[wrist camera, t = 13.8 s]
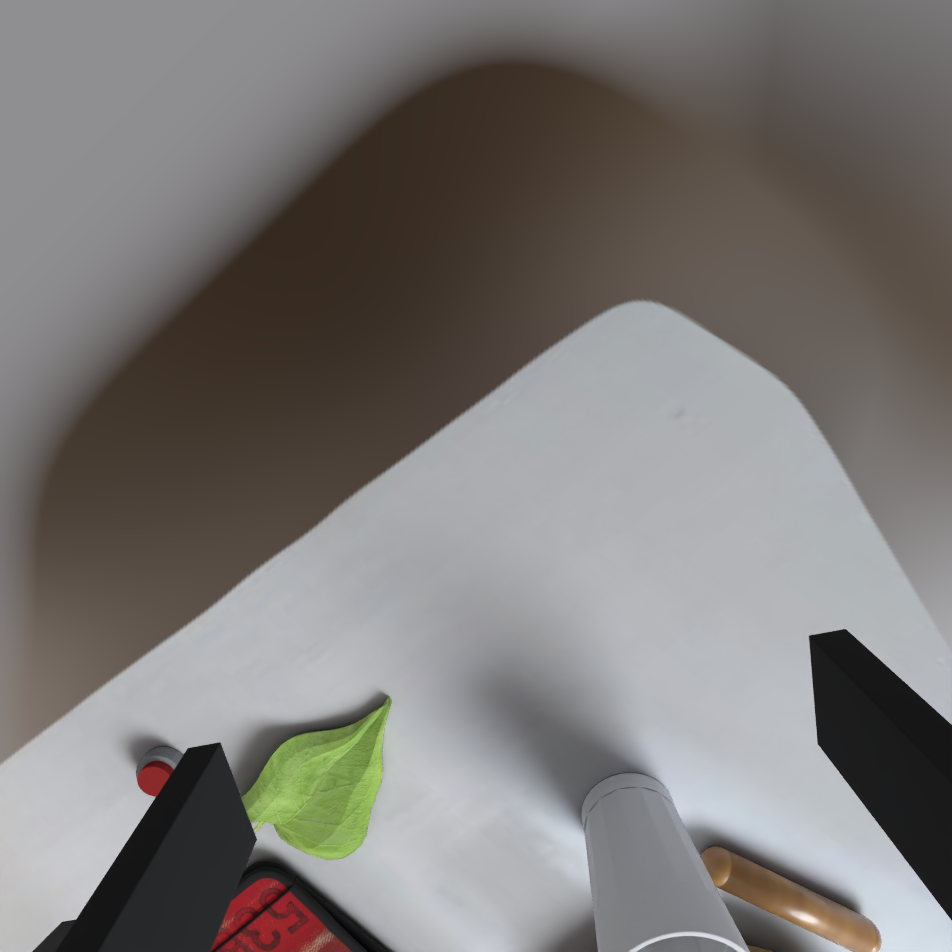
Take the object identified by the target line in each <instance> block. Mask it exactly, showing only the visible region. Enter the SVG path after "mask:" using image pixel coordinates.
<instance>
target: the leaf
mask: <svg viewBox="0 0 952 952" xmlns="http://www.w3.org/2000/svg"><path fill="white" fill-rule="evenodd" d="M390 706H391V699H390V697H389V696H388V698H387V699H386V701H385V702H384V704H383V706H382V707H380V708H378V709H377V710H375V711H373V712H372V713H370V714H369V715H367V716H366V717H364V718H363V719H361V720H359V721H358V722H356V723H354V724H351V725H348V726H346V727H342V728H338V729H332V730H325V731H316V732H308V733H304V734H300V735H296V736H294V737H292V738H290V739H289V740H287V741H285V742H284V743H282V744H281V745H280V747H279V748H278V749H277V750H276V751H275V752H274V753H273V754H272V756H271V757H270V759H269V760H268V762H267V764H266V765H265V767H264V769H263V770H262V772H261V774H260V776H259V778H258V779H257V781H256V782H255V784H254V785H253V787H252V788H251V789H250V790H249V791H248V792H247V793H246V794H245V795H244V796H242V797H241V799H242V801H243V804H244V807H245V809H246V812H247V815H248V817H249V820H250V821H256V822H259V824H258V825H257V827H256V828H255V829H254V830H253V831H254V833H256V832H257V830H258V829H259V828H260V827H261V826H262V824H263V823H264V822H265V823H271V824H274V827H275V829H276V832H277V833H278V835H279V837H280V838H281V839H282V840H284V841H285V842H287V843H288V844H289V845H291V846H293V847H295V848H297V849H299V850H301V851H303V852H305V853H307V854H309V855H312V856H315V857H318V858H322V859H325V860H333V859H342V858H344V857H346V856H348V855H350V854H351V853H353V852H354V851H355V850H356V849H357V848H358V847H360V846H361V845H362V843H363V841H364V839H365V837H366V834H367V829H368V823H369V818H370V813H371V808H372V805H373V802H374V800H375V797H376V795H377V792H378V789H379V787H380V784H381V781H382V772H383V769H382V743H383V735H384V729H385V724H386V719H387V715H388V712H389V709H390Z"/></svg>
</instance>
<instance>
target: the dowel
mask: <svg viewBox="0 0 952 952" xmlns="http://www.w3.org/2000/svg"><path fill="white" fill-rule="evenodd" d="M701 859H702V861H703V863H704V865H705V867H706V869H707V871H708V873H709V875H710V877H711V879H712V881H713V883H714V885H715V886H716V887H718V888H720V889H722V890H724V891H726V892H728V893H730V894H732V895H735V896H737V897H739V898H741V899H743V900H745V901H747V902H749V903H751V904H754V905H756V906H758V907H760V908H762V909H764V910H766V911H768V912H770V913H772V914H775V915H777V916H779V917H781V918H783V919H785V920H787V921H789V922H791V923H794V924H796V925H798V926H800V927H802V928H804V929H806V930H808V931H810V932H813V933H815V934H817V935H819V936H821V937H823V938H825V939H827V940H829V941H831V942H834V943H836V944H838V945H840V946H842V947H844V948H846V949H848V950H850V951H853V952H878V951H879V950H880V947H881V936H880V933H879V931H878V929H877V927H876V926H875V924H874V923H873V922H872V921H871V920H869V919H868V918H866V917H865V916H863V915H860V914H858V913H856V912H854V911H852V910H850V909H848V908H846V907H844V906H842V905H840V904H838V903H836V902H834V901H832V900H829V899H827V898H825V897H823V896H821V895H819V894H817V893H815V892H813V891H811V890H809V889H807V888H805V887H803V886H801V885H799V884H796V883H794V882H792V881H790V880H788V879H786V878H784V877H782V876H780V875H778V874H776V873H774V872H772V871H770V870H768V869H765V868H763V867H761V866H759V865H757V864H755V863H753V862H751V861H749V860H747V859H745V858H743V857H741V856H739V855H737V854H734V853H732V852H730V851H728V850H726V849H724V848H722V847H717V846H713V847H710V848H708V849H706V850H705V851H704V852H703V854H702V856H701Z"/></svg>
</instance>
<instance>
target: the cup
mask: <svg viewBox="0 0 952 952" xmlns="http://www.w3.org/2000/svg"><path fill="white" fill-rule="evenodd" d="M581 817H582V823H583V828H584V832H585V840H586V849H587V858H588V867H589V875H590V884H591V893H592V902H593V910H594V919H595V928H596V937H597V946H598V952H750V951H749V949H748V947H747V945H746V943H745V941H744V940H743V938H742V936H741V934H740V932H739V930H738V928H737V926H736V925H735V923H734V921H733V919H732V917H731V915H730V913H729V911H728V909H727V908H726V906H725V904H724V902H723V900H722V898H721V896H720V895H719V893H718V891H717V889H716V887H715V885H714V883H713V881H712V879H711V877H710V875H709V873H708V871H707V869H706V867H705V865H704V863H703V861H702V859H701V857H700V855H699V853H698V852H697V850H696V848H695V846H694V844H693V842H692V840H691V838H690V836H689V834H688V832H687V830H686V828H685V826H684V824H683V822H682V820H681V818H680V816H679V814H678V812H677V810H676V807H675V805H674V802H673V800H672V797H671V795H670V793H669V792H668V790H667V789H666V788H665V787H664V786H663V785H662V784H661V783H660V782H658V781H657V780H655V779H653V778H651V777H649V776H646V775H643V774H637V773H623V774H618V775H614V776H611V777H609V778H606V779H604V780H603V781H601V782H599V783H598V784H597V785H596V786H594V787H593V788H592V789H591V791H590V792H589V793H588V794H587V796H586V798H585V800H584V802H583V805H582V811H581Z"/></svg>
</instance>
